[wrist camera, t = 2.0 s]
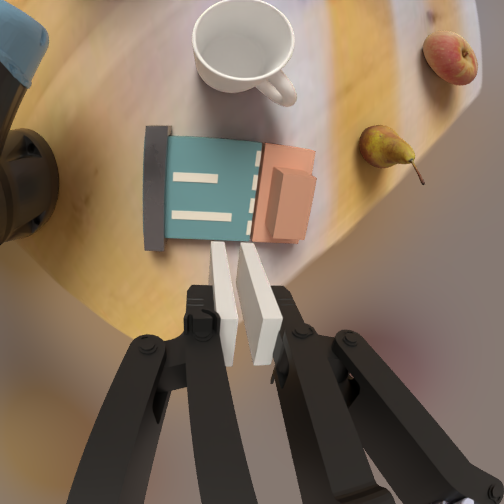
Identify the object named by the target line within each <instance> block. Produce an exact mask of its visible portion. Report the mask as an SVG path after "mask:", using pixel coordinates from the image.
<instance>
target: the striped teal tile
mask: <svg viewBox="0 0 504 504" xmlns="http://www.w3.org/2000/svg"><path fill="white" fill-rule="evenodd" d="M144 147H145V141H144ZM261 150H262V143H260V142H255V141H246V140H235V139H224V138H210V137H193V136H169V139H168V153H167V170H166V197H165V238H182V239H207V240H230V241H249V239H250V233H251V225H252V217H253V211H254V203H255V194H256V188H257V181H258V172H259V166H260V159H261ZM143 171H144V161H143ZM143 233H144V223H143Z"/></svg>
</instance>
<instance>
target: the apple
mask: <svg viewBox="0 0 504 504" xmlns="http://www.w3.org/2000/svg"><path fill="white" fill-rule="evenodd" d="M423 52H424V56H425V58H426V60H427V62H428V64H429V66H430V67H431V68H432V69H433V71H434V72H435V73H436V74H437V75H438V76H439V77H441V78H442V79H443V80H445V81H447V82H449V83H451V84H454V85H466V84H469V83H471V82H472V81H473V80H474V78H475V77H476V75H477V70H478V63H477V59H476V56H475V54H474V52H473V50H472V48H471V47H470V45H469V44H468V43H467V41H466V40H465V39H464V38H463V37H461V36H460V35H458V34H456V33H454V32H450V31H437V32H434V33H432V34H430V35H429V36H428V37H427V38H426V40H425V41H424V44H423Z"/></svg>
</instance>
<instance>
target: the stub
mask: <svg viewBox="0 0 504 504" xmlns="http://www.w3.org/2000/svg"><path fill="white" fill-rule="evenodd" d="M315 152H316V151H313V150H310V149H304V148H298V147H292V146H285V145H278V144H271V143H263V142H262V150H261V159H260V166H259V172H258V181H257V188H256V194H255V203H254V211H253V217H252V225H251V233H250V237H251V239H252V242H273V243H293V244H298V241H299V240H304V239H305V235H306V230H307V225H308V220H309V216H310V211H311V206H312V201H313V196H314V190H315V185H316V180H317V178H316V177H314V176H312V169H313V163H314V158H315Z"/></svg>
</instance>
